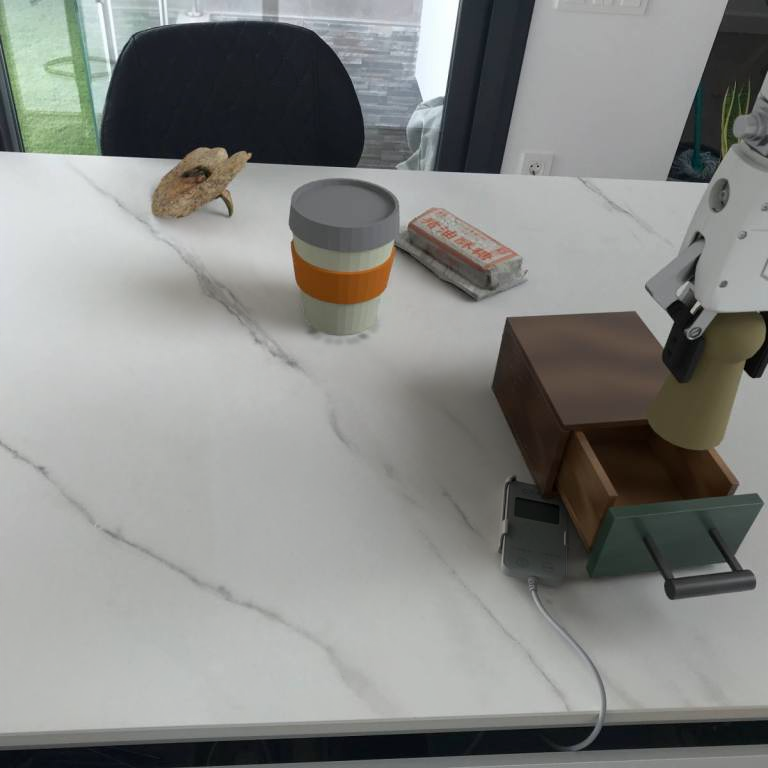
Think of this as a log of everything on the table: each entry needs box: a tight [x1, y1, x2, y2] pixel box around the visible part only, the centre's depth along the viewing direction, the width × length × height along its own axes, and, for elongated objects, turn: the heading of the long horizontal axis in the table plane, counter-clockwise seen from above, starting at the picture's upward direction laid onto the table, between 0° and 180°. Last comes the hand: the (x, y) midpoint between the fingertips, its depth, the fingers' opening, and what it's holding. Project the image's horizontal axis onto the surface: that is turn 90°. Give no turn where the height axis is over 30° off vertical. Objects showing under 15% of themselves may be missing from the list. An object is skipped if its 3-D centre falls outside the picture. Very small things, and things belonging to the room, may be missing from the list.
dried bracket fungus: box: [150, 146, 252, 219], centre depth 112 cm, size 18×14×8 cm
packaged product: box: [394, 207, 529, 301], centre depth 105 cm, size 18×5×10 cm
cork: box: [647, 304, 766, 450], centre depth 58 cm, size 6×6×11 cm
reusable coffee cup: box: [288, 177, 401, 336], centre depth 90 cm, size 13×13×15 cm
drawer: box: [554, 425, 765, 601], centre depth 68 cm, size 21×13×8 cm, turn 11°
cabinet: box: [490, 310, 670, 500], centre depth 78 cm, size 17×15×10 cm
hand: (710, 367), depth 58 cm, fingers closed on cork, 5 cm apart
